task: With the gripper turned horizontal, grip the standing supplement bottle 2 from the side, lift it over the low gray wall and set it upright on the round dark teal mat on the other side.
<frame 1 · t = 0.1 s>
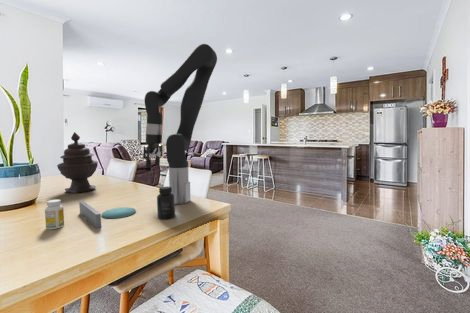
hand: (153, 166, 123), 17 cm above the table, tool pointing down, fingers open, 8 cm apart
decorative urn: (79, 191, 147), on the table
supplement bottle 2: (55, 227, 90), on the table
teal mat: (119, 213, 105), on the table
gray wall: (89, 219, 97), on the table
supplement bottle: (166, 217, 100), on the table
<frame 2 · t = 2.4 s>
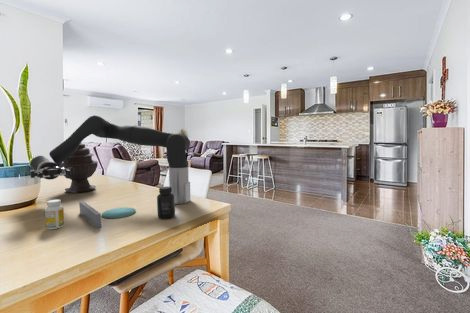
hand: (55, 174, 97), 18 cm above the table, tool horizontal, fingers open, 8 cm apart
nothing on the table moved.
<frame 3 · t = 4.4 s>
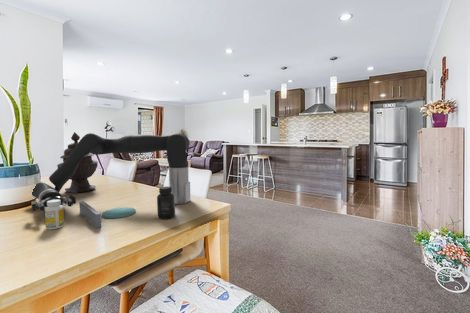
hand: (57, 206, 95), 6 cm above the table, tool horizontal, fingers open, 8 cm apart
nothing on the table moved.
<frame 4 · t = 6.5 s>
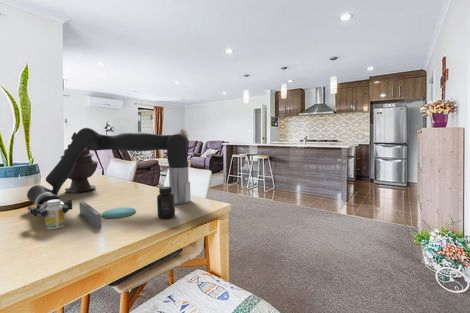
hand: (55, 212, 87), 6 cm above the table, tool horizontal, fingers closed on supplement bottle 2, 5 cm apart
supplement bottle 2: (55, 227, 90), on the table, touching gripper
everything else where it was.
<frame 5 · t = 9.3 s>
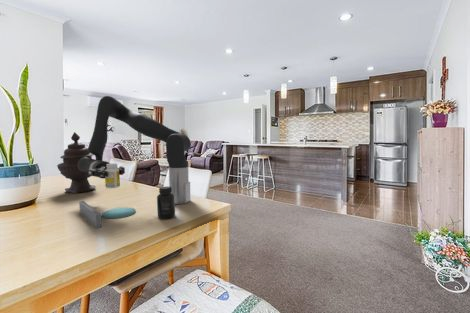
hand: (114, 173, 100), 18 cm above the table, tool horizontal, fingers closed on supplement bottle 2, 5 cm apart
supplement bottle 2: (113, 187, 102), point 11 cm above the table, touching gripper
everything else where it was.
when the fingers open (8 cm above the table, at t = 12.3 s): supplement bottle 2 stays where it is, resting on teal mat.
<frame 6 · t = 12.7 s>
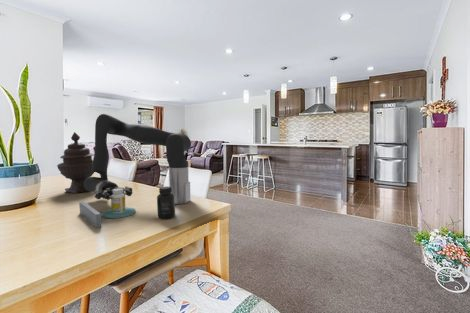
hand: (119, 195, 103), 8 cm above the table, tool horizontal, fingers open, 8 cm apart
supplement bottle 2: (118, 212, 105), resting on teal mat
everything else where it was.
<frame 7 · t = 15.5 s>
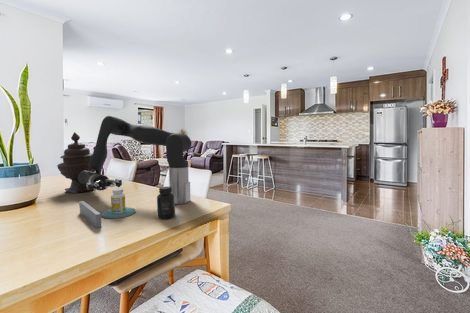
hand: (109, 186, 112), 10 cm above the table, tool horizontal, fingers open, 8 cm apart
nothing on the table moved.
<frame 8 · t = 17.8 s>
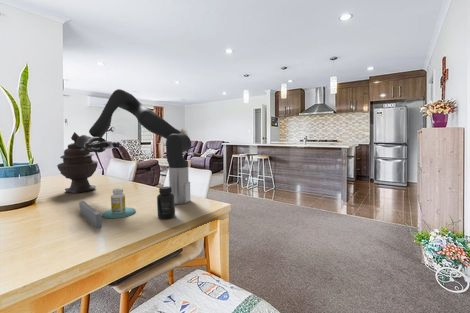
hand: (107, 145, 113), 28 cm above the table, tool horizontal, fingers open, 8 cm apart
nothing on the table moved.
at the end: supplement bottle 2 0.2 cm from the teal mat (horizontally); supplement bottle 2 tilted 0°; the gripper is holding nothing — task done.
